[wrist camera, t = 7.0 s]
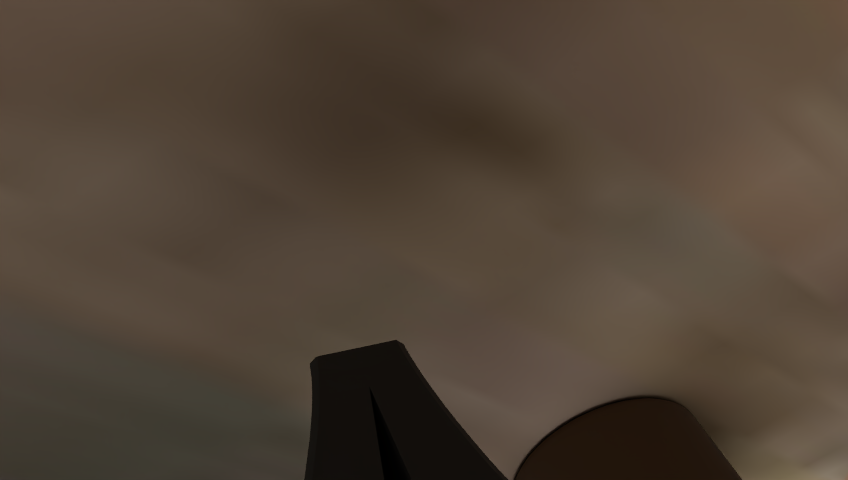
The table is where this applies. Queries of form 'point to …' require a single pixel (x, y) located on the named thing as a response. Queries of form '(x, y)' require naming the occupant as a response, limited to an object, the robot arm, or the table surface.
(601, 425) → the olive oil
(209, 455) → the table surface
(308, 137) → the table surface
